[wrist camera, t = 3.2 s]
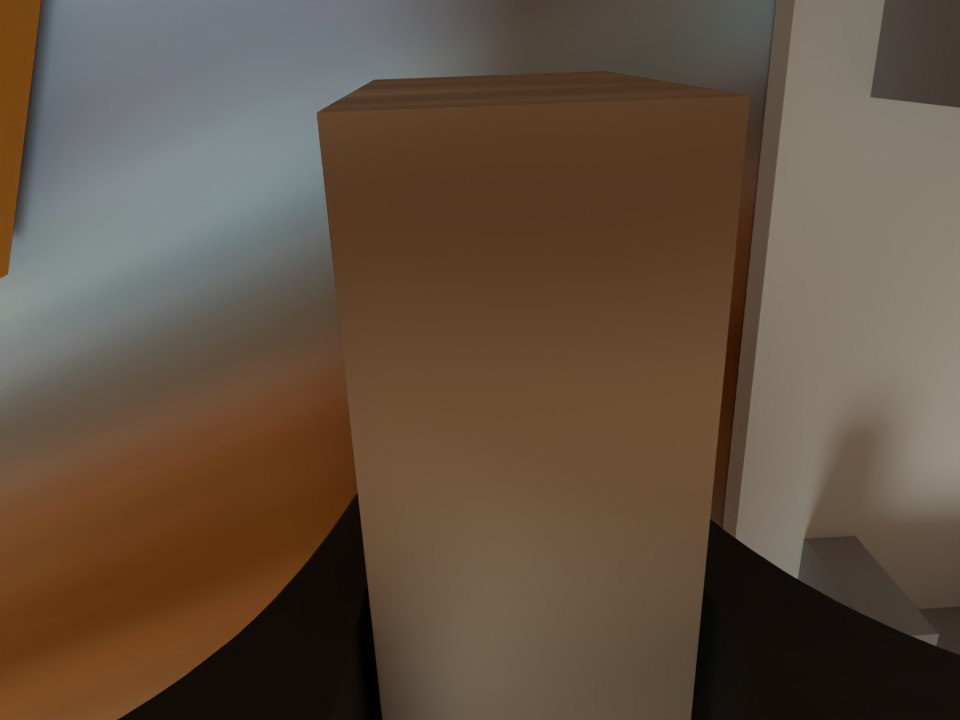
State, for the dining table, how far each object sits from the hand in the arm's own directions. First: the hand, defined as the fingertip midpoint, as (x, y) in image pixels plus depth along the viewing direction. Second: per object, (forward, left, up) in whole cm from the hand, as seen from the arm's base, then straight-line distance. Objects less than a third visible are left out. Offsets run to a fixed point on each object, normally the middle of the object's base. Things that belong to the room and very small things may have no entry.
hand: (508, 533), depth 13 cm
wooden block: (0, 0, -2) cm, 2 cm away
